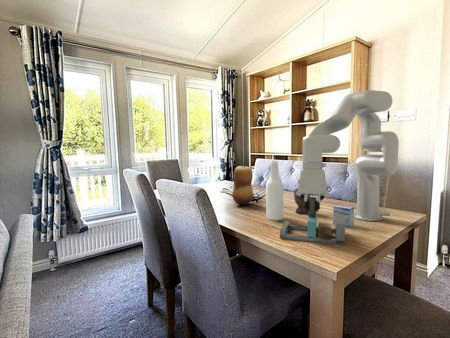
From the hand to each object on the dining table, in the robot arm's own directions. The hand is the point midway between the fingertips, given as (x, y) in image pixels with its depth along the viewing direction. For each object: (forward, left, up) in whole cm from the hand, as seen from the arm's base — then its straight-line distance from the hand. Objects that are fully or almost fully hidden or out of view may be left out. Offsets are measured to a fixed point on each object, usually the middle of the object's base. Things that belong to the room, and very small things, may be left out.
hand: (312, 210), depth 102 cm
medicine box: (-13, -18, -11) cm, 25 cm away
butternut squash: (+44, -44, -11) cm, 63 cm away
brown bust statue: (+6, -33, -11) cm, 35 cm away
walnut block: (-5, 0, -11) cm, 12 cm away
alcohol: (+19, -20, -11) cm, 30 cm away
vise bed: (0, 0, -11) cm, 11 cm away
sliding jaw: (0, 0, -9) cm, 9 cm away
